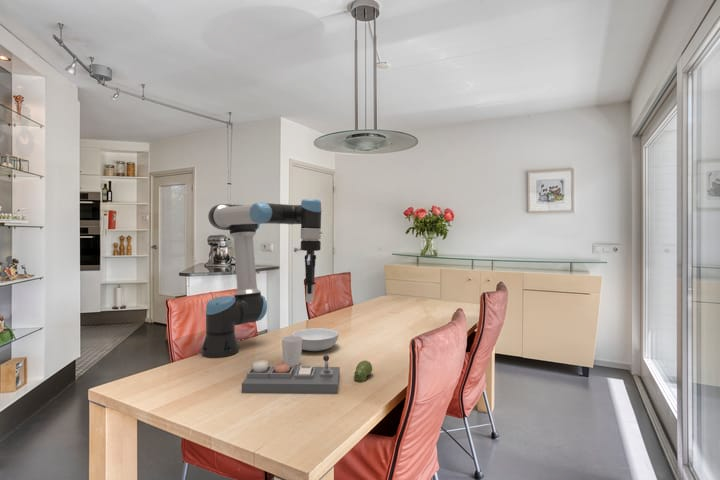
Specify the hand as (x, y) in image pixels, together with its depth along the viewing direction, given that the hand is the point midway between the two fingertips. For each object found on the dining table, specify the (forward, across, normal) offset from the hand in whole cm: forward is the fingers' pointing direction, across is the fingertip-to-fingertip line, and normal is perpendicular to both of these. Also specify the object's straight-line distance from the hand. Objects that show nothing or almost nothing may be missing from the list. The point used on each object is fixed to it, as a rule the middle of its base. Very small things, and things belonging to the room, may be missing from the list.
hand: (309, 301), depth 147 cm
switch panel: (+26, -15, +3) cm, 30 cm away
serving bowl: (+26, +25, 0) cm, 36 cm away
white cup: (+26, +5, +7) cm, 28 cm away
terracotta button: (+22, -15, +7) cm, 28 cm away
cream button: (+21, -15, +15) cm, 30 cm away
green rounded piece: (+26, -9, -21) cm, 34 cm away
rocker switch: (+22, -15, -1) cm, 26 cm away
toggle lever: (+21, -15, -8) cm, 27 cm away
